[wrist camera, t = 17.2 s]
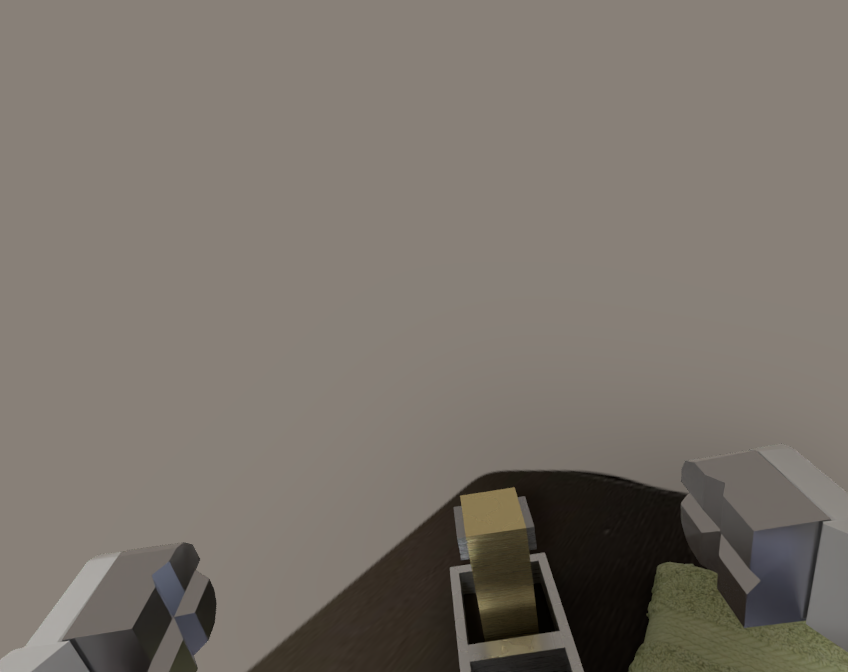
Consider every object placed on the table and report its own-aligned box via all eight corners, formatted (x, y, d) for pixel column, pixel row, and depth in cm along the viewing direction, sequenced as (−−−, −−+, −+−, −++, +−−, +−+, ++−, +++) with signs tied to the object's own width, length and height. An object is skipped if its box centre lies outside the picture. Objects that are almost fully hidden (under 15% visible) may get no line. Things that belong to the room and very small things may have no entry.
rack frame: (477, 809, 29) (471, 785, 28) (454, 589, 43) (449, 567, 42) (615, 790, 29) (614, 764, 28) (547, 574, 42) (544, 552, 41)
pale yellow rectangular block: (478, 650, 37) (456, 538, 33) (472, 603, 41) (452, 497, 37) (548, 640, 37) (535, 526, 33) (535, 593, 41) (522, 486, 37)
